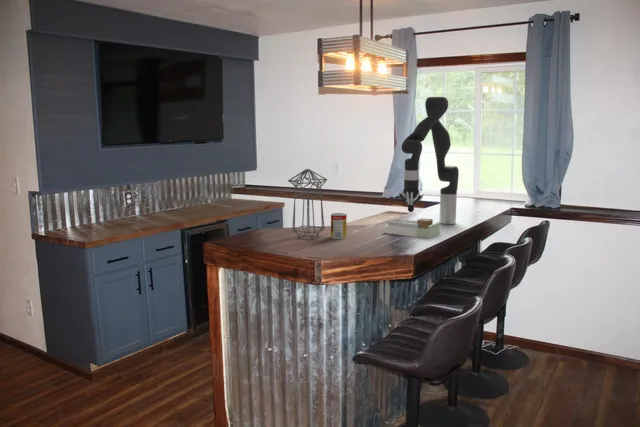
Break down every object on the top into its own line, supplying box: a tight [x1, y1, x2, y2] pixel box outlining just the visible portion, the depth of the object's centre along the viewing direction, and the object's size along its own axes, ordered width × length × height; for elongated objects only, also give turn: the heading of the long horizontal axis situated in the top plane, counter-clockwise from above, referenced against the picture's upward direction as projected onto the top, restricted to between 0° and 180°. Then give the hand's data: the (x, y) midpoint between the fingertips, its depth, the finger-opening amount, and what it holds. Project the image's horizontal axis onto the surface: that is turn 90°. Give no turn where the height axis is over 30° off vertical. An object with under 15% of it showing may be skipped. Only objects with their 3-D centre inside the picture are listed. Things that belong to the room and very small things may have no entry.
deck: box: [384, 221, 441, 239], centre depth 289 cm, size 14×25×6 cm, turn 57°
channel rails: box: [387, 218, 419, 228], centre depth 290 cm, size 10×17×2 cm, turn 57°
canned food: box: [330, 212, 348, 240], centre depth 278 cm, size 8×8×12 cm
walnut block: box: [416, 218, 434, 229], centre depth 285 cm, size 6×6×4 cm
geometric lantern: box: [287, 168, 328, 241], centre depth 274 cm, size 16×16×35 cm
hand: (410, 211), depth 288 cm, fingers closed
